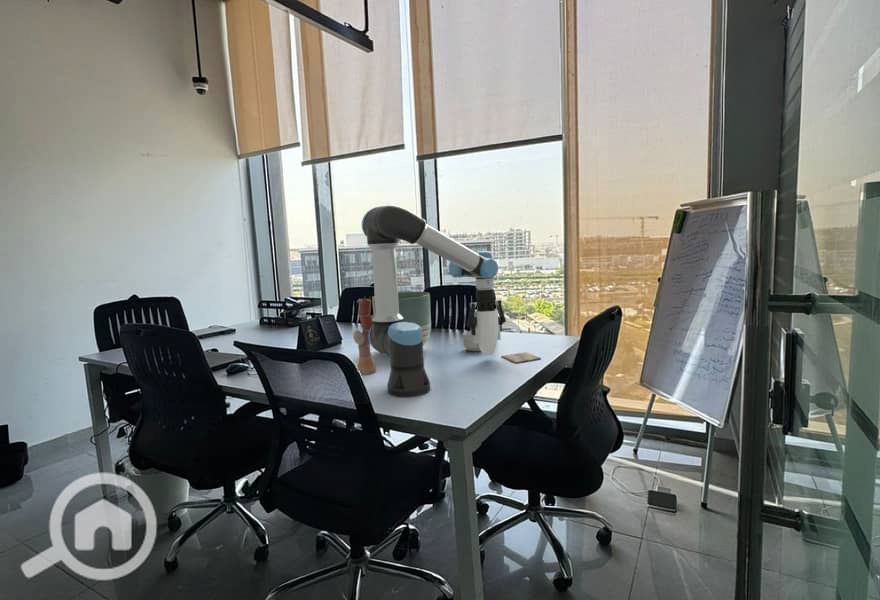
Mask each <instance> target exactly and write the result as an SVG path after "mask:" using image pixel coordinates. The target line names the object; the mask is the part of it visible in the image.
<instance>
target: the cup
mask: <svg viewBox="0 0 880 600" xmlns="http://www.w3.org/2000/svg"><path fill="white" fill-rule="evenodd" d="M477 309H478V308H477ZM477 309H476V308H475V312H474V317H477V325H476V328H477V330H478V344H479V347H480V350H481V351H480V352H481V354H482V355H485V356H486V355H489V356H490V355H493V354H494V352H495V351H496V350H495V349H496V347H497V343H498V340H497V338H498V316H499V314H498V310H497V308H494V309H495V311H483V312H479V311H477ZM474 317H473V318H474Z"/></svg>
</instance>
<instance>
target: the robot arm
mask: <svg viewBox="0 0 880 600" xmlns="http://www.w3.org/2000/svg"><path fill="white" fill-rule="evenodd" d="M361 231H362V232H363V234H364V235H365V237H366V240H367V241H366V243H367V246H368V247H369V248H370V249H371V255H372V269H373V270H372V274H373V285H374V287H373V288H374V289H373V290H374V291H373V292H374V296H375V308H376V315H375V316H374V317H373V319H372V327H371V328H370V330H369V342H370V347H371V348H373V349H374V350H375V351H376V352H378V353H379V354H384V355H385V356H389V361H390V363H389V364H390V372H389V376H388V380H387V384H386V389H387V391H386V392H387V394H388V395H390V396H393V397H399V398H410V397H417V396H421V395H424V394H426V393H428V392H430V390H431V382H430V379H429V376H428V374H427V372H426V369H425V360H424V346H423V335H422V330H421V327H420V326H419V325H417V324H415V323H408V322H404V320H403V317H402V316H401V315H400V314H399V304H398V292H399V286H398V267H397V250H396V249H397V248H398V247H399V245H400V241H404V242H407V243H409V244H410V245H415V244H417V245H419V246H420V247H422V248H425V249H426V250H428V251H430V252H431V253H433V254H435V255H437V256H439V257H441V258H443V259H445V260H446V261H449V264H448V271H449V274H450V275H451V276H452V277H453V278H475V288H476V290H475V295H476V301H475V302H470V303H469V311H468V316H467V321H466V327H469V328H470V332H471V334H472V335H473V339H474V343H478V330H477V328H476V325H477V317H474V312H475V310H476V307H477V311H479V312H483V311H495V309H497V310H498V338H497V341H501V332H502V331H503V325H504V324H505V323H506V321H507V320H506V317H505V313H504V310H503V307H502V300H501V299H495V289H494V287H495V281H494V279H495V277H496V276H497V274H498V272H499V264H498V262H497V261H496V260H495V259H494V256H493V252H491V251H487V250H486V251H476V252H475V251H474V250H472V249H470V248H468V247H467V246H465V245H463V244H462V243H460V242H458V241H456V240H455V239H453V238H451V237H449V236H447V235H446V234H444V233H442V232H441V231H439V230H438V229H436V228H434V227H432V226H430V225H429V224H427V221H426V220H425V218H423V217H421V216H419V215H417V214H416V213H414V212H413V211H410V210H409V209H407V208H405V207H403V206H400V205H397V204H387V205H382V206H377V207H373V208H372V209H369V210H368V211H367V212H366V213H365V214H364V216H363V218H362V220H361ZM494 306H495V307H496V308H495V307H494Z"/></svg>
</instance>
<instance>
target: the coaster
mask: <svg viewBox="0 0 880 600" xmlns="http://www.w3.org/2000/svg"><path fill="white" fill-rule="evenodd" d="M501 358H502V359H504V360H506V361H509V362H511V363H513V364H521V363H527V362H532V361H539V360H542V358H541V357H539V356H536V355H534V354H531V353H529V352H527V351H524V352H523V351H522V352H519V353H518V352H517V353H511V354H505V355H501Z"/></svg>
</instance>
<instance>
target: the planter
mask: <svg viewBox="0 0 880 600" xmlns="http://www.w3.org/2000/svg"><path fill="white" fill-rule="evenodd" d="M371 298H372V300H371V302H372V309H373V311H372V312H373V314H375V313H376V308H375V295H373V296H371ZM398 304H399V314H400V315H401V316H402V317H403V320H404V322H408V323H415V324H417V325H419V326H420V327H421V330H422V335H423V347H424V346H425V345H426V344H427V343H428V341H429V339H430V336H431V331H432V320H431V319H432V318H431V317H432V316H431V314H432V313H431V294H430V292H428V291H427V292H425V291H398Z"/></svg>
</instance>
